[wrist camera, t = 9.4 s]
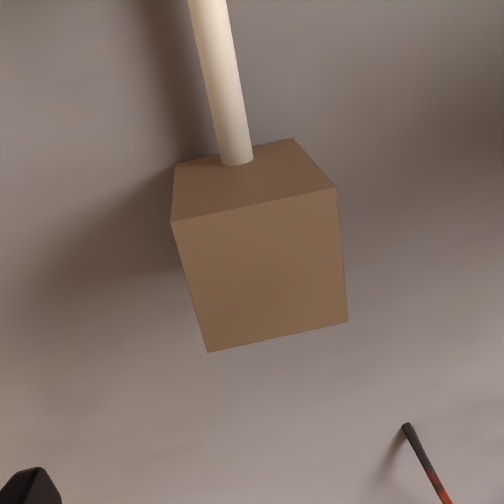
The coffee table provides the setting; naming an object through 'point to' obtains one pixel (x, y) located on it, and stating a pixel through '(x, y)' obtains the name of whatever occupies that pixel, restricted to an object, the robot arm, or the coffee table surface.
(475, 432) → the coffee table surface
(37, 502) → the robot arm
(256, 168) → the uneven block dumbbell
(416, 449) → the sunglasses
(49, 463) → the coffee table surface
